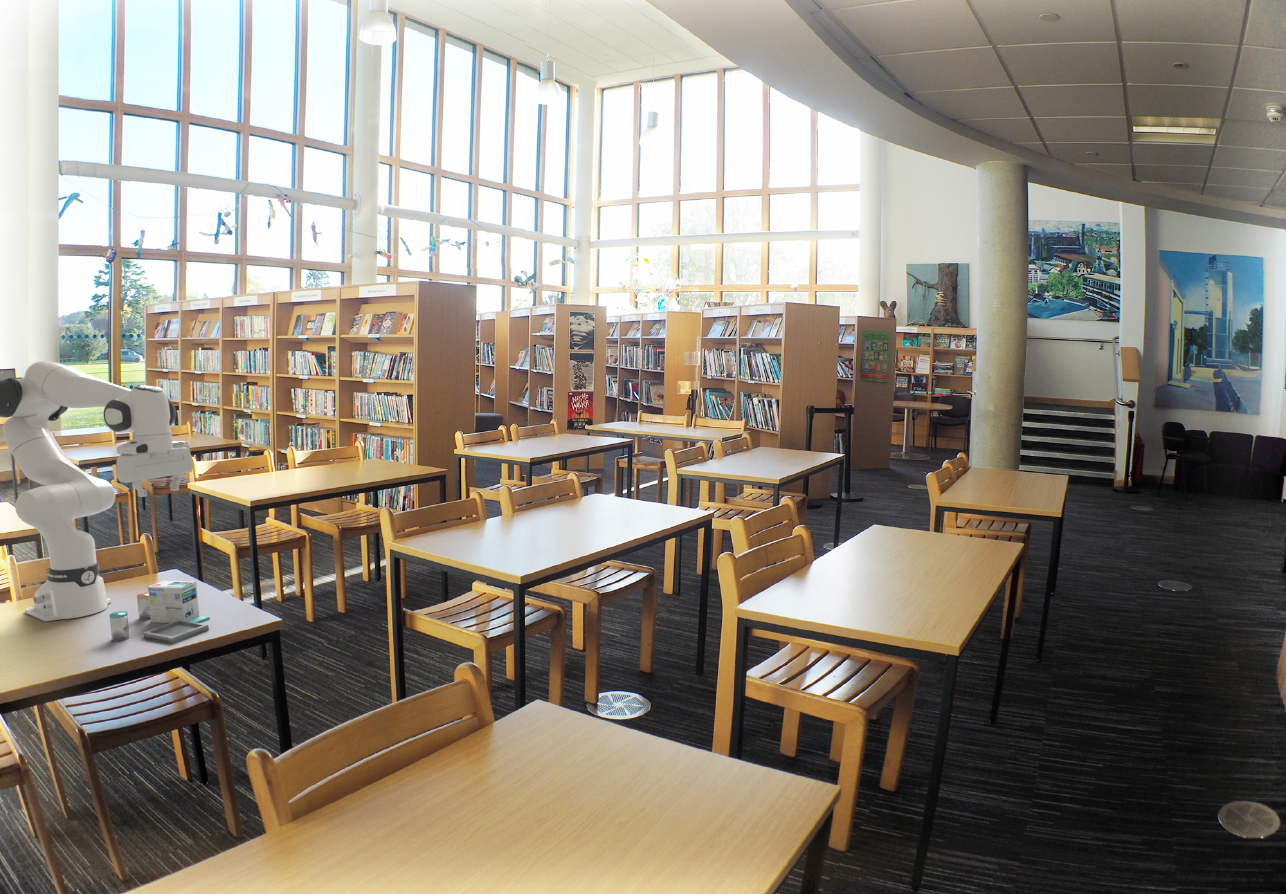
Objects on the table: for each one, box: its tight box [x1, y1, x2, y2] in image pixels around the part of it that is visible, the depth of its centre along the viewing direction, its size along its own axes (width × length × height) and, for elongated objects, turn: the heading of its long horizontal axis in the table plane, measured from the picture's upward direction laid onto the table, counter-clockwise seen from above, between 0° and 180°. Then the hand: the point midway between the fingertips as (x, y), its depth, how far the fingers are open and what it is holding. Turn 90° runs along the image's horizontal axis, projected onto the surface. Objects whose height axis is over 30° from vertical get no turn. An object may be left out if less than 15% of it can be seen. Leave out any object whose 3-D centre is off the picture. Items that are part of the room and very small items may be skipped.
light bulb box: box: [147, 579, 200, 624], centre depth 226 cm, size 11×7×11 cm, turn 84°
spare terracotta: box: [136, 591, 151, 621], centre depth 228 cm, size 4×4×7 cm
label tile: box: [188, 615, 211, 623], centre depth 225 cm, size 3×5×1 cm, turn 158°
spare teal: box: [109, 610, 131, 642], centre depth 212 cm, size 4×4×7 cm
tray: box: [142, 620, 210, 645], centre depth 215 cm, size 11×11×2 cm
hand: (159, 493), depth 218 cm, fingers open, 8 cm apart
